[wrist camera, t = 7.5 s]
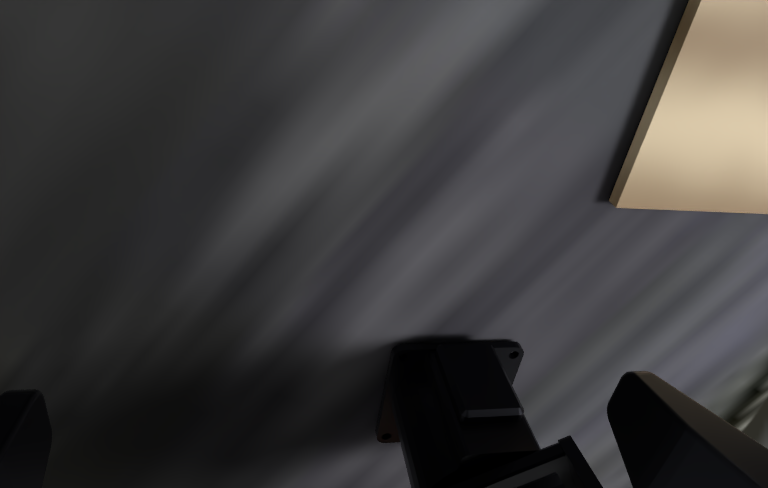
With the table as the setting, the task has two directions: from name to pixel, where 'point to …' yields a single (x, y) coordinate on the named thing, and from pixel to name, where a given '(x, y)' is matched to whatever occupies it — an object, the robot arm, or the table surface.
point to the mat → (705, 117)
